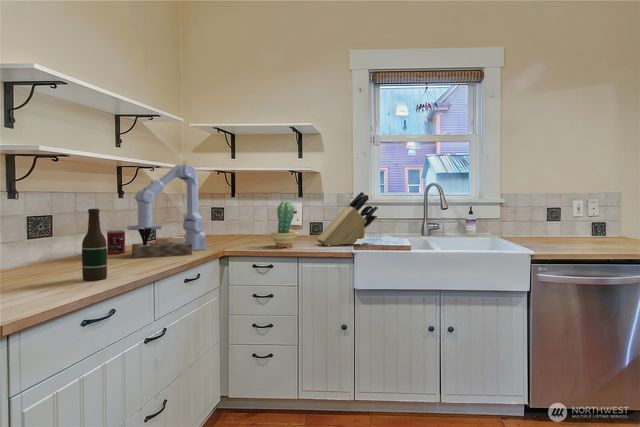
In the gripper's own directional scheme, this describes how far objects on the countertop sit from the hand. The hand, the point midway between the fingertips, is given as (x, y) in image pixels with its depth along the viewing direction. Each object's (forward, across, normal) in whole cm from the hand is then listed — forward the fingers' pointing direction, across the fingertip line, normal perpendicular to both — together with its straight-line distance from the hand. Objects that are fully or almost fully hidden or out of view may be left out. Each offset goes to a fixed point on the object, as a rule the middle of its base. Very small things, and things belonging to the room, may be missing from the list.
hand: (144, 245), depth 193 cm
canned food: (+5, -11, +14) cm, 19 cm away
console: (+5, +8, 0) cm, 9 cm away
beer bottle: (+5, -20, -48) cm, 52 cm away
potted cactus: (+5, +72, +2) cm, 72 cm away
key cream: (+1, +15, 0) cm, 15 cm away
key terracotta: (+1, +8, 0) cm, 8 cm away
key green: (+4, 0, 0) cm, 4 cm away
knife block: (+5, +109, -4) cm, 109 cm away
